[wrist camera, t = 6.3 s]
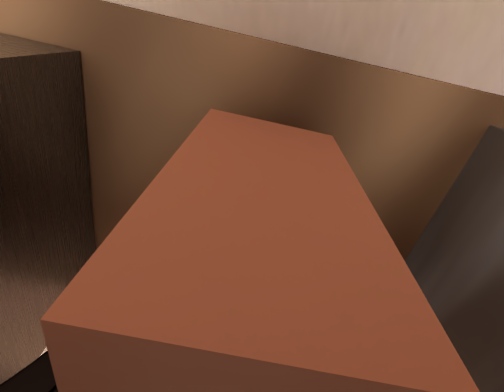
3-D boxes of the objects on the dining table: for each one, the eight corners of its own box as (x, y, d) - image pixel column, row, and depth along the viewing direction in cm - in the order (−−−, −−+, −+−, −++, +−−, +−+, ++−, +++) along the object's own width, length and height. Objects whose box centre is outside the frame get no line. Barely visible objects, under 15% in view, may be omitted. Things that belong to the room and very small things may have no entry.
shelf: (615, 123, 10) (1290, 299, 3) (425, 347, 16) (527, 559, 10) (-33, -32, 9) (-907, -217, 2) (36, 273, 15) (-140, 454, 9)
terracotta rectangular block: (332, 135, 8) (486, 401, 2) (263, 327, 13) (255, 591, 7) (211, 108, 8) (40, 318, 2) (183, 312, 13) (102, 568, 7)
